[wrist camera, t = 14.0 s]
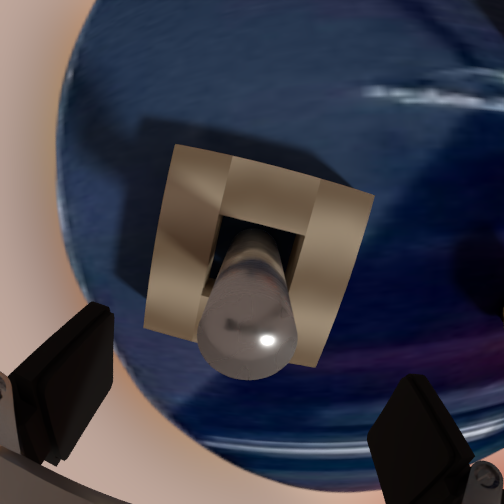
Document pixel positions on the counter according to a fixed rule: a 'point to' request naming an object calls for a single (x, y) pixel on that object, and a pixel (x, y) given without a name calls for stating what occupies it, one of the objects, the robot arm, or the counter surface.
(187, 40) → the counter surface
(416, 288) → the counter surface
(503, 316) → the brown bumpy hollow part
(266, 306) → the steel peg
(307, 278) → the square wooden frame
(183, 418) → the counter surface
